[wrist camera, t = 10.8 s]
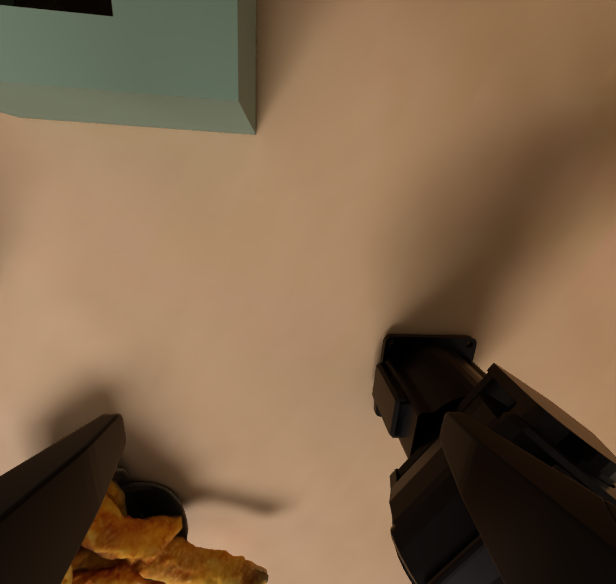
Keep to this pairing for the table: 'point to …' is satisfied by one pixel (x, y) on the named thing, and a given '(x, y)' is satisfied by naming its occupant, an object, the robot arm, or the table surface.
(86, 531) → the robot arm
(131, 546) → the fried shrimp in bowl
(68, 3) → the rectangular block
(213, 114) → the box
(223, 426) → the table surface
